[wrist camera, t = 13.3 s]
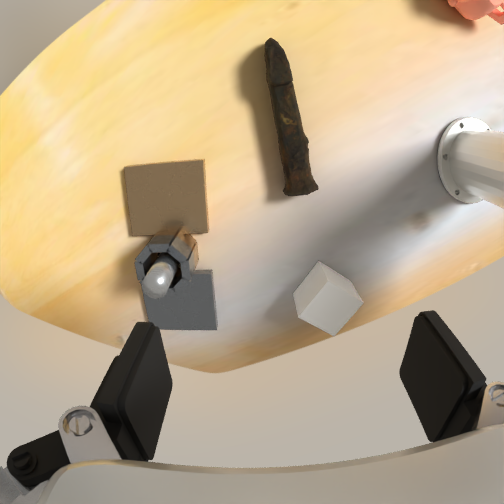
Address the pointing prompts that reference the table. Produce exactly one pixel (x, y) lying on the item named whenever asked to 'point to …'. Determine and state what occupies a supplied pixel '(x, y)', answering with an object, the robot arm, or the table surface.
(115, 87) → the table surface
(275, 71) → the hand tool
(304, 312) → the light grey cube
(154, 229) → the hinge
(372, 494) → the robot arm
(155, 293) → the hinge pin
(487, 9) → the teapot
